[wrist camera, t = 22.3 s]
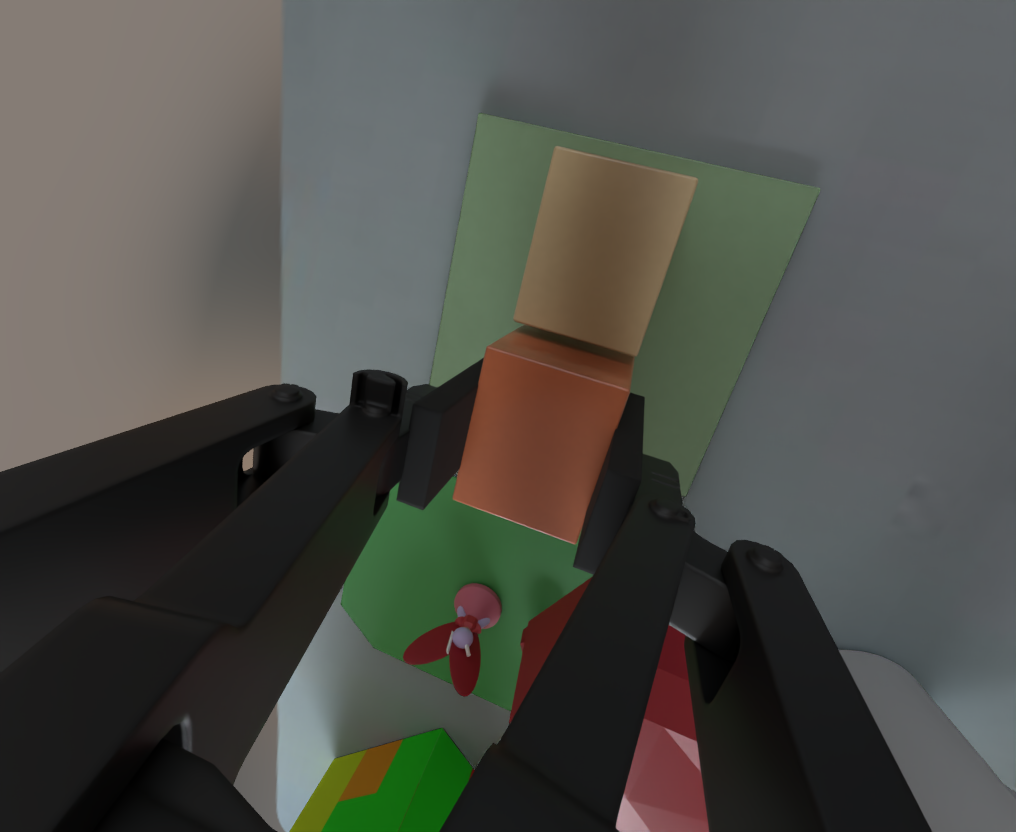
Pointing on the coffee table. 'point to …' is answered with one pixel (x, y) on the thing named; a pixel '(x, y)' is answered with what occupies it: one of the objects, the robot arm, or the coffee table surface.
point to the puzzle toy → (389, 788)
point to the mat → (683, 296)
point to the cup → (932, 751)
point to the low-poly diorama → (513, 633)
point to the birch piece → (602, 248)
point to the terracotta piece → (542, 429)
